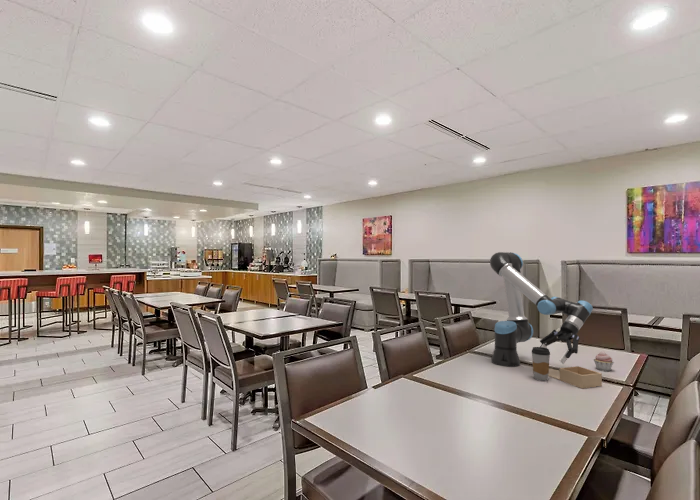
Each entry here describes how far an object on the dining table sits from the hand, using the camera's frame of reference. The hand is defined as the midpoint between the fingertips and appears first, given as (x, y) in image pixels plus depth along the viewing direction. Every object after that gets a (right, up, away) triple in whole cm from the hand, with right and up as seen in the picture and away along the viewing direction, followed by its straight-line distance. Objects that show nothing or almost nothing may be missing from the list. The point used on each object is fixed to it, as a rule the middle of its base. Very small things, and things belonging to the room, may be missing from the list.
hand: (549, 358), depth 180 cm
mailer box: (+9, -10, +2) cm, 14 cm away
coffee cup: (-4, -10, 0) cm, 11 cm away
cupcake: (+40, -12, +18) cm, 45 cm away
